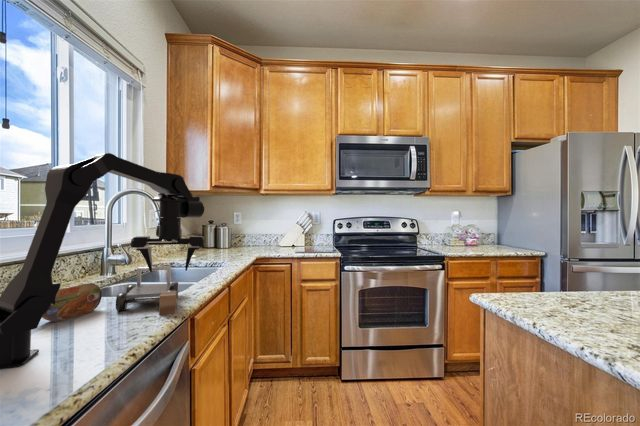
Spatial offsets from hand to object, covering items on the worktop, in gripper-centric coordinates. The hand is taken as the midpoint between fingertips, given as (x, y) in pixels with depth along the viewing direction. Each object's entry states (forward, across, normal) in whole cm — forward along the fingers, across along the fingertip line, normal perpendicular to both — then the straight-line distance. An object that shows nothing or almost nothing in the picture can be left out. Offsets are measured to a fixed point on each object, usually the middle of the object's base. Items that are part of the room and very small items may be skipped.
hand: (169, 271), depth 89 cm
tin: (+12, +24, -4) cm, 28 cm away
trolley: (+12, +6, -12) cm, 18 cm away
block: (+12, 0, 0) cm, 12 cm away
